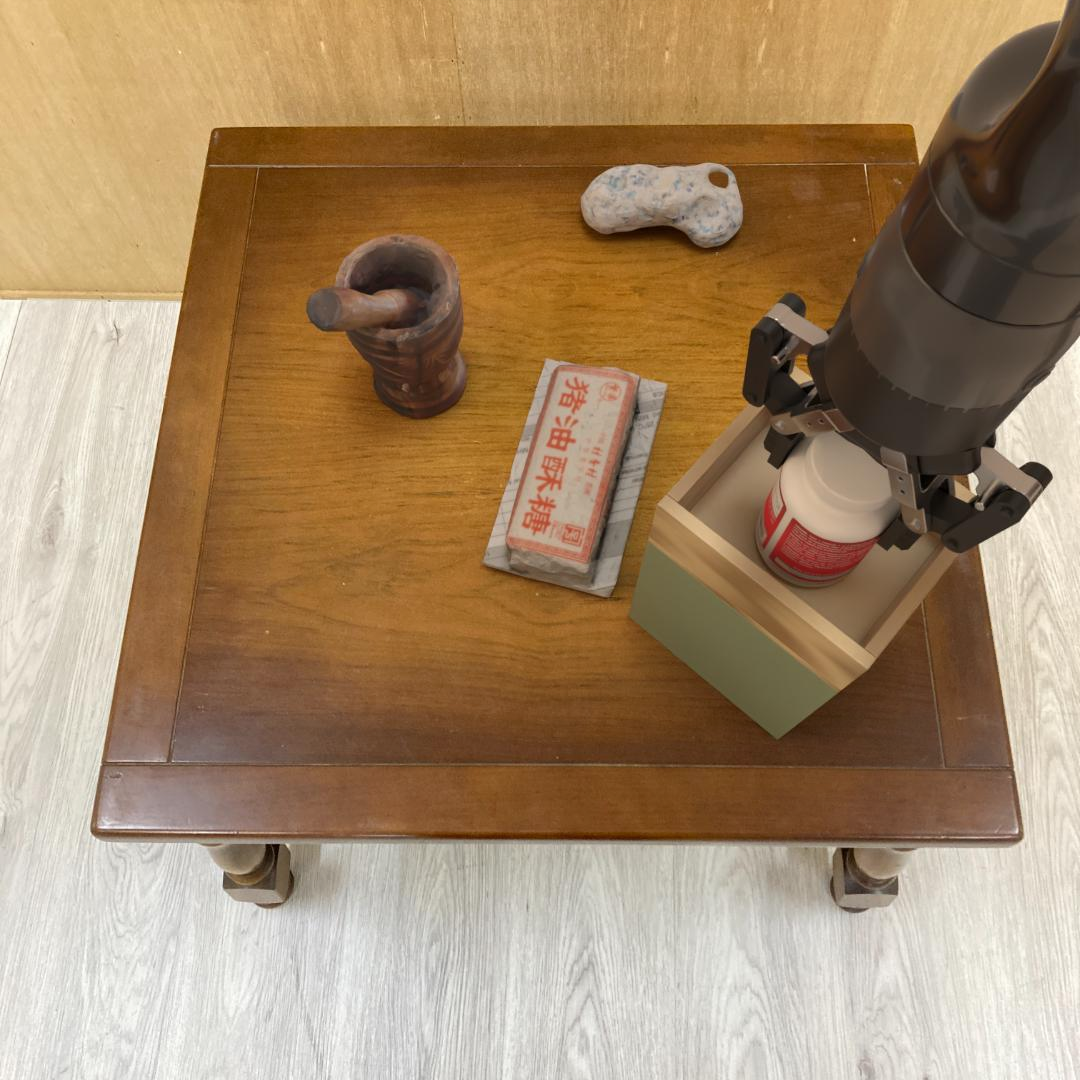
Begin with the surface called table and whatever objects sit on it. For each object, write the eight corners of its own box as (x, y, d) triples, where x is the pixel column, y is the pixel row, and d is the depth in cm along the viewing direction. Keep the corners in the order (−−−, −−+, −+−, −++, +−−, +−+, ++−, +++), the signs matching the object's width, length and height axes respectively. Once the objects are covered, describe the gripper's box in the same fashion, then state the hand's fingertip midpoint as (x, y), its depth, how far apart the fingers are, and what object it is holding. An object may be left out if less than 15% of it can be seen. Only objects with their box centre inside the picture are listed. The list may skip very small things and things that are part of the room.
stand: (873, 619, 74) (955, 544, 59) (777, 740, 71) (838, 693, 56) (725, 505, 77) (767, 406, 62) (627, 616, 74) (647, 540, 59)
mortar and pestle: (457, 469, 79) (428, 329, 60) (347, 455, 79) (284, 313, 60) (480, 339, 83) (460, 170, 64) (376, 327, 83) (325, 156, 64)
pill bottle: (881, 563, 58) (952, 486, 48) (787, 607, 57) (838, 538, 47) (826, 473, 60) (882, 380, 50) (734, 514, 59) (772, 428, 49)
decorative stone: (584, 262, 85) (586, 223, 80) (578, 196, 87) (579, 155, 83) (742, 252, 85) (754, 212, 81) (731, 186, 88) (742, 144, 83)
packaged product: (616, 582, 70) (477, 547, 71) (612, 602, 75) (482, 569, 76) (674, 361, 76) (545, 331, 77) (667, 392, 81) (545, 363, 82)
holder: (955, 544, 59) (995, 508, 54) (838, 693, 56) (868, 669, 51) (767, 406, 62) (787, 360, 57) (647, 540, 59) (656, 504, 54)
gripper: (1189, 358, 36) (996, 528, 52) (854, 143, 39) (768, 364, 55) (1077, 506, 34) (911, 636, 50) (734, 267, 37) (681, 459, 53)
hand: (836, 492), depth 52 cm, fingers closed on pill bottle, 6 cm apart
